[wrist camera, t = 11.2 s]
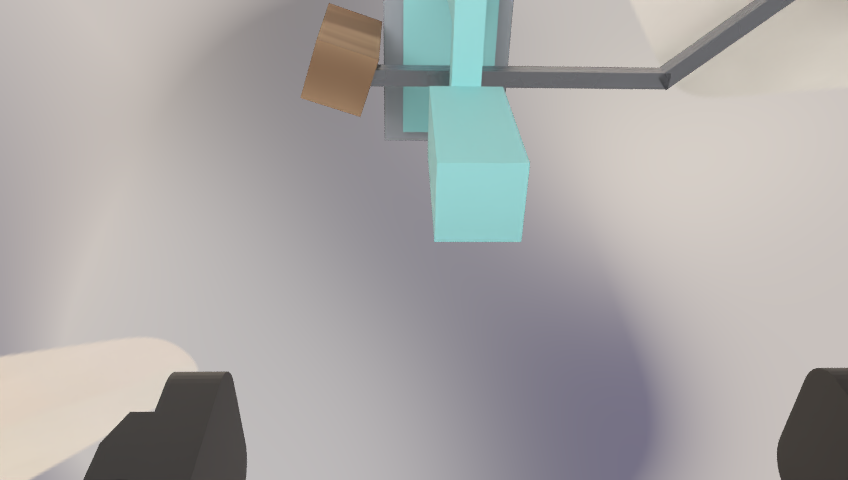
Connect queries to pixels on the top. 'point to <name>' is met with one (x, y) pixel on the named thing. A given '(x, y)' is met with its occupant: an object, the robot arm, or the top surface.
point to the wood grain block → (343, 60)
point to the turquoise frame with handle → (465, 123)
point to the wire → (684, 63)
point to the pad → (395, 57)
